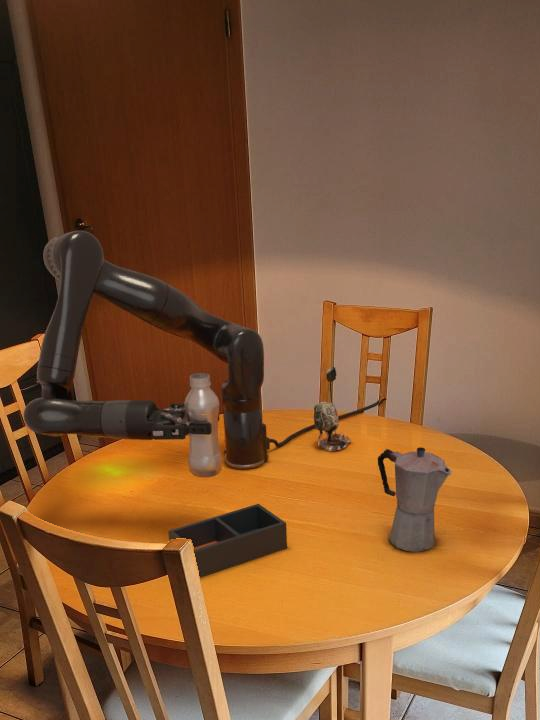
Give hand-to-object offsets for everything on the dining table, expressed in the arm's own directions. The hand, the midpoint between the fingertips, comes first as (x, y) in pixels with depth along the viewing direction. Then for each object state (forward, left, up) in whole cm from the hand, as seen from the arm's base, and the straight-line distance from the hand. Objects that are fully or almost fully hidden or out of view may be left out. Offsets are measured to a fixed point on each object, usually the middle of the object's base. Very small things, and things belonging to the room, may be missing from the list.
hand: (214, 422), depth 150 cm
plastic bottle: (+2, -2, -11) cm, 11 cm away
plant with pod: (-45, -25, -24) cm, 57 cm away
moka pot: (-28, +25, -24) cm, 45 cm away
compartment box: (+3, +8, -24) cm, 25 cm away
